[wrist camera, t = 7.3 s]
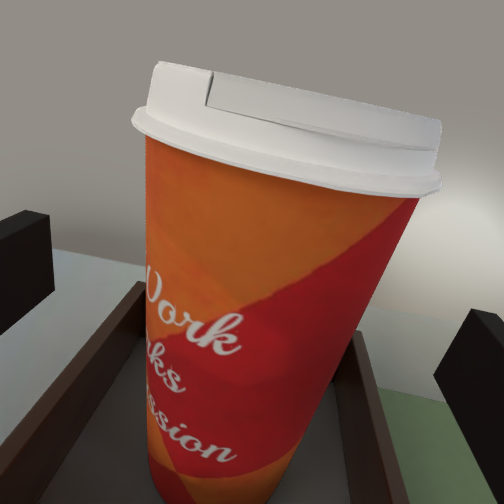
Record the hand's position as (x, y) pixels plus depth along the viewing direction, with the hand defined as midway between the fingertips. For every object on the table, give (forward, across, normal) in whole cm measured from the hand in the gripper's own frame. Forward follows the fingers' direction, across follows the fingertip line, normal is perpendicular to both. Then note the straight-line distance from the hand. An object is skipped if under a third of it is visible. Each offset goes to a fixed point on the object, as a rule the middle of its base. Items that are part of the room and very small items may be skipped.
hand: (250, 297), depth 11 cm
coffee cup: (+1, 0, -9) cm, 9 cm away
